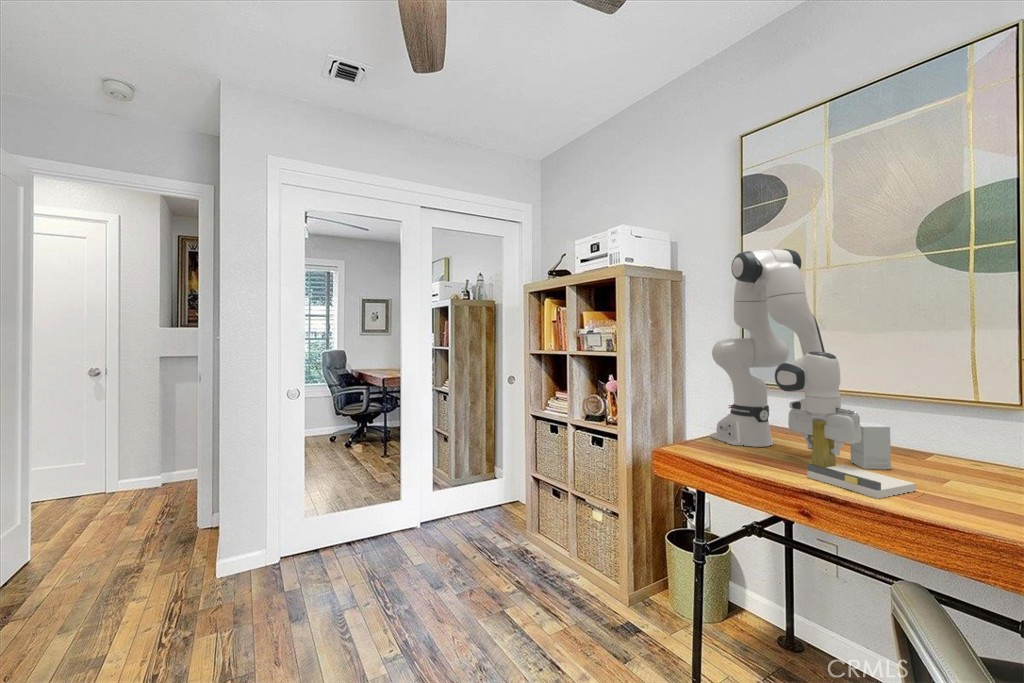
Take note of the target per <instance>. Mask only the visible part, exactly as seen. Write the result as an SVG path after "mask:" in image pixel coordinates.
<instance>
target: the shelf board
mask: <svg viewBox="0 0 1024 683" xmlns="http://www.w3.org/2000/svg"><path fill="white" fill-rule="evenodd" d="M806 466H807V467H806V468H807V470H806V471H807V474H806V475H807V478H808V479H811V478H812V479H811V480H814V479H815V480H814V481H817V480H818V482H820V483H824V482H825V483H824V484H827V483H829V484H828V485H831V484H832V485H831V486H834V485H835V486H834V487H837V486H838V488H840V487H842V488H841V489H844V488H846V489H845V490H847V489H849V490H848V491H850V490H852V491H851V492H854V491H855V492H854V493H857V492H859V493H858V494H860V493H861V494H860V495H863V494H864V495H863V496H866V497H870V496H871V498H873V499H877V500H879V498H880V499H884V497H885V498H889V497H888V496H890V497H894V496H893V495H895V496H898V494H900V495H904V494H903V493H905V494H908V493H907V492H910V493H914V492H913V491H915V492H916V491H917V487H916V485H917V484H916V483H915V482H911V481H907V480H902V479H899V478H896V477H891V476H888V475H884V474H881V473H876V472H873V471H868V470H866V469H862V468H857V467H852V466H849V465H845V464H841V465H840V464H839V465H836V466H833V467H826V468H825V467H821V466H818V465H814V464H812V463H807V465H806Z"/></svg>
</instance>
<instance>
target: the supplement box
mask: <svg viewBox="0 0 1024 683" xmlns="http://www.w3.org/2000/svg"><path fill="white" fill-rule="evenodd" d="M860 427H861V434H862V440H861V441H860V442H859V443H849V445H850V446H849V447H850V463H851V464H853V463H854V465H856V466H858V467H860V468H861V469H863V470H866V469H867V470H886V469H890V470H892V454H891V426H889V425H888V426H887V425H886V424H885V425H884V424H881V423H878V422H860Z"/></svg>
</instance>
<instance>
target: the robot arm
mask: <svg viewBox="0 0 1024 683" xmlns="http://www.w3.org/2000/svg"><path fill="white" fill-rule="evenodd" d="M731 262H732V263H731V273H732V276H733V277H734V279H736V282H735V286H734V295H733V322H734V324H736V325H737V326H738V327H739V328H741V329H744V330H747V331H748V332H749V335H750V337H748V338H747V337H742V338H738V337H737V338H727V339H721V340H718V341H716V343H715V344H714V346H712V347H713V348H712V351H711V355H712V356H711V357H712V359H713V361H714V362H715V364H716V365H717V366H718V367H720V368H721V369H723V370H724V371H725V372H726V373H727V375H728V376H729V379H730V381H731V384H732V390H733V404H730V405H728V406H727V407H728V409H730V413H728V414H727V415H726V416H725V417H723V418H721V419H720V420H719V421H718V422H717V424H716V429H715V430H716V432H713V433H710V434H709V437H710V438H712V439H715V440H718V441H720V442H723V443H725V442H726V443H725V444H728V445H730V444H731V446H743V445H744V447H745V446H746V447H754V448H755V447H757V448H758V447H759V448H760V447H761V448H762V447H771V446H774V442H773V438H772V435H771V428H770V423H769V416H770V406H769V405H768V385H767V384H766V383H765V381H764V380H762V379H760V378H758V377H756V376H754V375H752V374H751V372H750V368H773V367H776V369H775V371H774V380H775V383H776V385H777V387H778V388H779V389H780V390H782V391H784V392H789V393H804V399H803V398H802V399H800V400H794V401H791V402H789V408H790V410H789V411H788V421H787V422H788V429H789V430H790V431H791V432H795V433H800V434H803V438H804V440H805V442H806V443H807V449H809V450H812V446H813V420H815V421H822V422H826V425H824V436H825V438H827V439H832V440H834V445H835V447H834V448H831V454H832V455H835V457H836V456H840V454H841V452H840V450H841V448H842V447H843V446H844V445H845V443H847V444H850V443H859V442H860V441H861V440H862V434H861V427H860V423H861V421H860V420H861V419H860V418H861V417H860V415H859V414H858V413H857V412H855V410H852V409H845V408H842V407H841V406H842V404H841V401H842V398H841V392H840V385H841V368H840V364H839V359H838V358H837V356H836V355H834V354H832V353H830V352H826V350H825V346H824V342H823V339H822V335H821V331H820V328H819V324H818V321H817V319H816V317H815V316H814V314H813V312H812V311H811V309H810V307H809V306H810V305H809V303H808V299H807V294H806V293H807V292H806V286H805V282H804V277H803V275H802V271H801V268H802V259H801V255H800V254H799V252H797V251H796V250H793V249H789V248H788V249H787V248H784V249H777V248H768V249H767V248H766V249H760V250H751V251H750V250H747V251H743V252H740V253H738V254H736V255H735V257H734V258H733V260H732V261H731ZM769 317H771V319H772V320H774V322H776V323H778V324H779V325H781V326H783V327H787V328H788V329H790V330H791V331H793V332H794V333H795V335H796V336H797V338H798V341H799V345H800V348H801V352H802V357H799V358H797V359H794V360H792V361H791V360H790V361H788V360H789V354H790V350H789V346H788V344H787V343H786V342H785V341H784V340H783V339H781V338H780V337H779V336H777V335H776V333H775V332H774V331H773V330H772V327H771V325H770V322H769ZM770 445H771V446H770Z"/></svg>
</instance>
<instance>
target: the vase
mask: <svg viewBox="0 0 1024 683" xmlns="http://www.w3.org/2000/svg"><path fill="white" fill-rule="evenodd" d="M824 425H826V422H822V421H815V420H813V437H812V440H813V446H812V449H811V464H814V465H818V466H821V467H825V468H826V467H833V466H837V464H836V463H837V462H836V455H832V454H831V448H834V447H835V445H836V444H834V440H832V439H827V438H825V436H824Z"/></svg>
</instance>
